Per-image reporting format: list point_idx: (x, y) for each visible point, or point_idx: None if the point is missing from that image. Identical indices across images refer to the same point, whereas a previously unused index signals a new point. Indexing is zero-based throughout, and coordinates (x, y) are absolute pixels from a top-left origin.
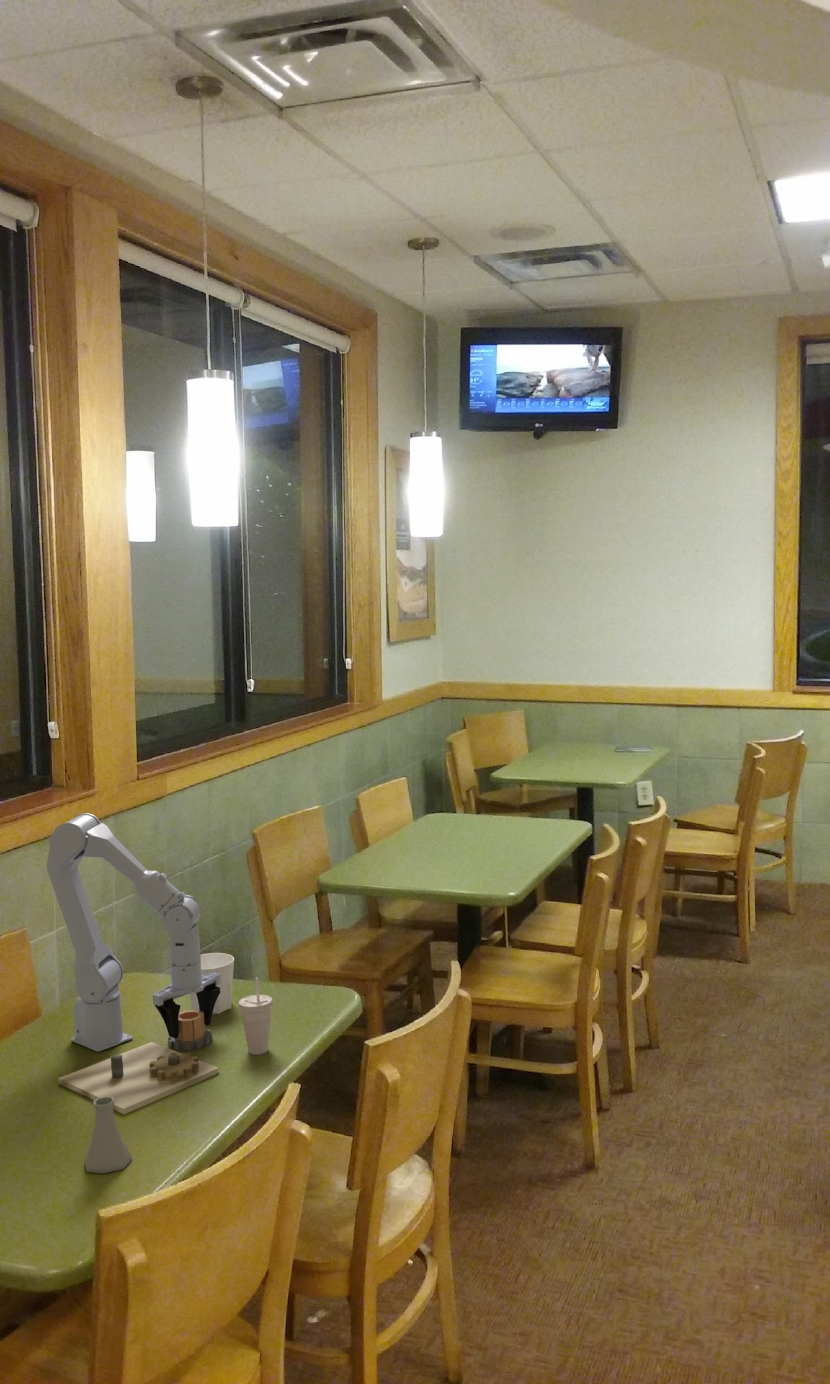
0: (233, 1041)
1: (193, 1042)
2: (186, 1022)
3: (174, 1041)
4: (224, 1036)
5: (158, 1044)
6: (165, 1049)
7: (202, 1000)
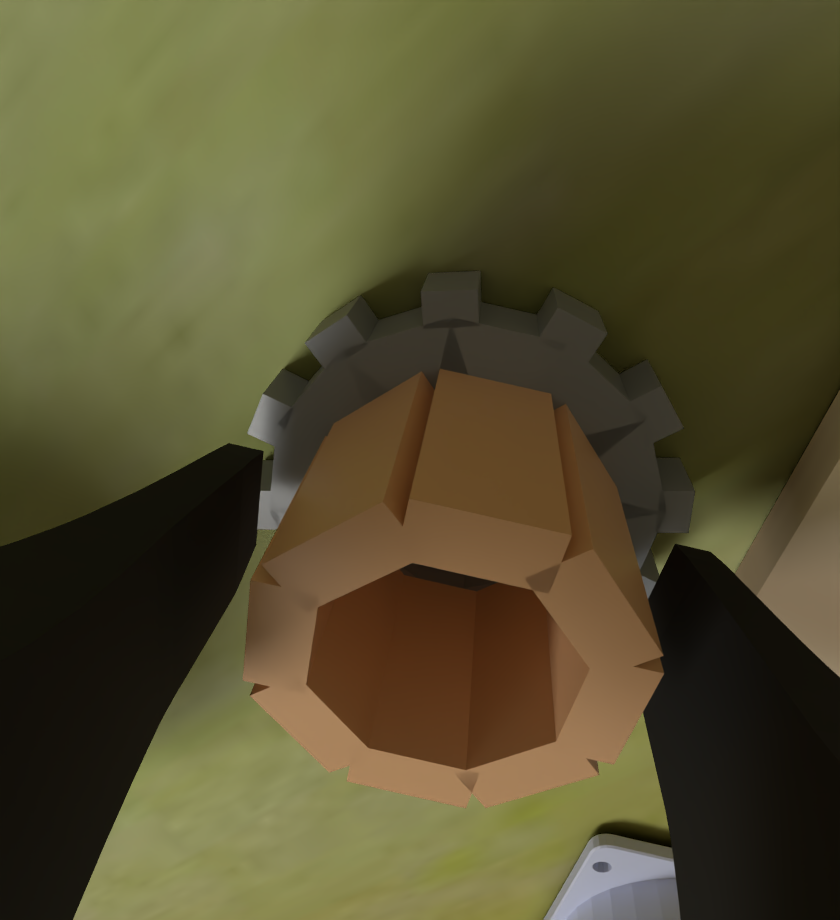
0: (233, 46)
1: (601, 377)
2: (626, 595)
3: (643, 560)
4: (195, 258)
5: None
6: (838, 533)
7: (107, 749)
